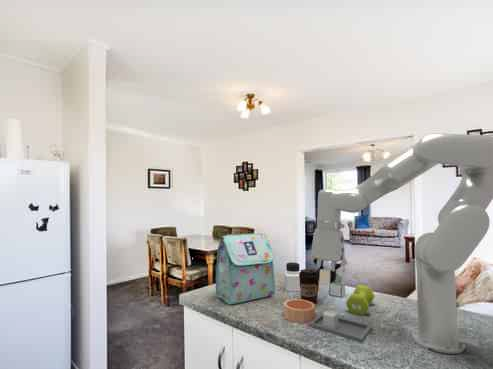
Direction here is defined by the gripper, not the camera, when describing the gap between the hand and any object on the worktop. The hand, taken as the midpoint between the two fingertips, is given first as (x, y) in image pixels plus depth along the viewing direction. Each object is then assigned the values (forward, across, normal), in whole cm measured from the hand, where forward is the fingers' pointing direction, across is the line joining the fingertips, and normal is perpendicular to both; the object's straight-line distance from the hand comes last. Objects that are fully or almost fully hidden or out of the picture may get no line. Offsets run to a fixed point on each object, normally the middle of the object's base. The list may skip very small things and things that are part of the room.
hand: (326, 280), depth 95 cm
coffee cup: (+15, +12, -14) cm, 24 cm away
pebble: (+14, 0, -2) cm, 14 cm away
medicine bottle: (+15, +26, -27) cm, 40 cm away
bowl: (+15, +9, +1) cm, 17 cm away
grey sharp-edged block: (+14, -3, +3) cm, 14 cm away
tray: (+14, -5, +1) cm, 15 cm away
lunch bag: (+16, +37, -5) cm, 41 cm away
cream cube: (+1, 0, 0) cm, 1 cm away
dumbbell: (+14, -6, -21) cm, 26 cm away
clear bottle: (+15, +7, -31) cm, 35 cm away
